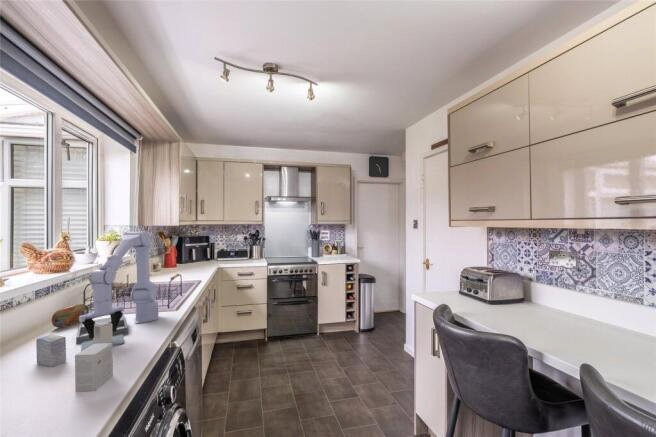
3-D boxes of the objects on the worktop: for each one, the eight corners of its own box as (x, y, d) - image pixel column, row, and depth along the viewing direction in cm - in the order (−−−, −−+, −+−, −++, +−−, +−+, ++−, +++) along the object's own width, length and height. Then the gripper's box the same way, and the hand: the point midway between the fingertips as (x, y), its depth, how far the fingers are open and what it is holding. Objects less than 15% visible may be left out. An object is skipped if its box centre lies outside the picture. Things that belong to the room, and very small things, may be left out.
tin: (55, 330, 130) (55, 311, 130) (49, 330, 130) (49, 311, 130) (89, 319, 144) (89, 302, 144) (84, 318, 145) (84, 301, 145)
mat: (122, 335, 123) (122, 333, 123) (124, 343, 115) (123, 342, 115) (82, 343, 115) (82, 341, 115) (80, 353, 107) (80, 351, 107)
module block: (104, 338, 118) (104, 320, 118) (112, 341, 115) (112, 323, 115) (93, 342, 115) (92, 323, 115) (100, 345, 112) (100, 326, 112)
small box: (94, 377, 90) (94, 343, 90) (113, 376, 91) (113, 342, 91) (74, 392, 82) (73, 355, 82) (95, 391, 83) (95, 354, 83)
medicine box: (66, 361, 100) (66, 336, 101) (50, 367, 96) (50, 341, 96) (52, 358, 103) (51, 333, 103) (36, 364, 99) (35, 338, 99)
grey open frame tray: (124, 317, 147) (123, 311, 147) (127, 333, 125) (127, 326, 125) (80, 324, 136) (80, 318, 136) (76, 343, 115) (76, 336, 115)
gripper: (117, 294, 123) (118, 326, 123) (75, 303, 111) (75, 339, 111) (126, 296, 120) (127, 329, 120) (84, 305, 107) (84, 342, 107)
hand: (103, 334), depth 115 cm, fingers open, 7 cm apart
